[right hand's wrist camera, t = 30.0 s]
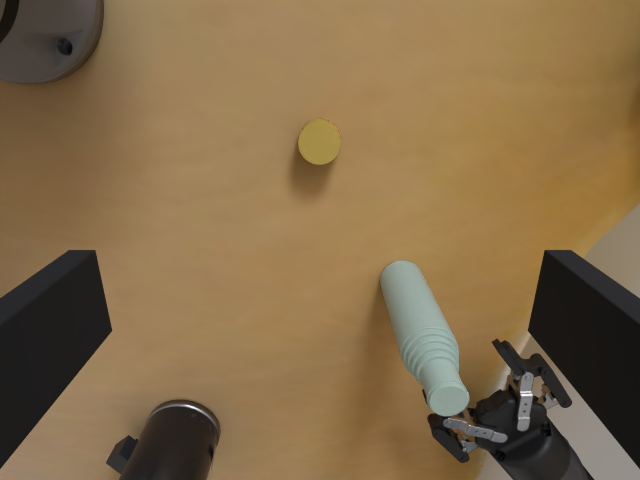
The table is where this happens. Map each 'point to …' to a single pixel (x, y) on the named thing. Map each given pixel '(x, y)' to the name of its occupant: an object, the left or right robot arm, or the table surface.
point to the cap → (319, 141)
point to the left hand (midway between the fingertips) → (461, 366)
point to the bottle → (424, 337)
